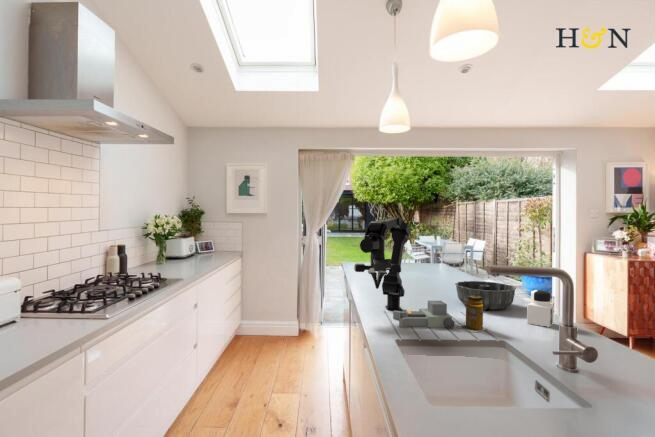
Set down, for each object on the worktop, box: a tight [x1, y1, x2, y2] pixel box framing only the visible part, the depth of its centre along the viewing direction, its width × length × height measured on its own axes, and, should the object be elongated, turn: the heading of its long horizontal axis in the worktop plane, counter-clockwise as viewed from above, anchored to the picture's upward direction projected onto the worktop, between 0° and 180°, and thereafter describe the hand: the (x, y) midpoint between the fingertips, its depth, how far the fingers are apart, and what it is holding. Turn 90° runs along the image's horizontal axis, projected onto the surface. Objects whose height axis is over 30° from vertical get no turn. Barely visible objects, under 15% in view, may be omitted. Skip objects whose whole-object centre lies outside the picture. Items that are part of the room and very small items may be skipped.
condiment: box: [457, 295, 488, 333], centre depth 131 cm, size 7×8×12 cm
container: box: [526, 289, 555, 327], centre depth 138 cm, size 8×8×13 cm
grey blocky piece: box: [392, 300, 456, 329], centre depth 137 cm, size 15×20×8 cm
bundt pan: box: [454, 280, 517, 311], centre depth 165 cm, size 26×26×10 cm
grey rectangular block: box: [404, 310, 425, 318], centre depth 138 cm, size 4×7×4 cm, turn 91°
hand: (377, 288), depth 144 cm, fingers closed
